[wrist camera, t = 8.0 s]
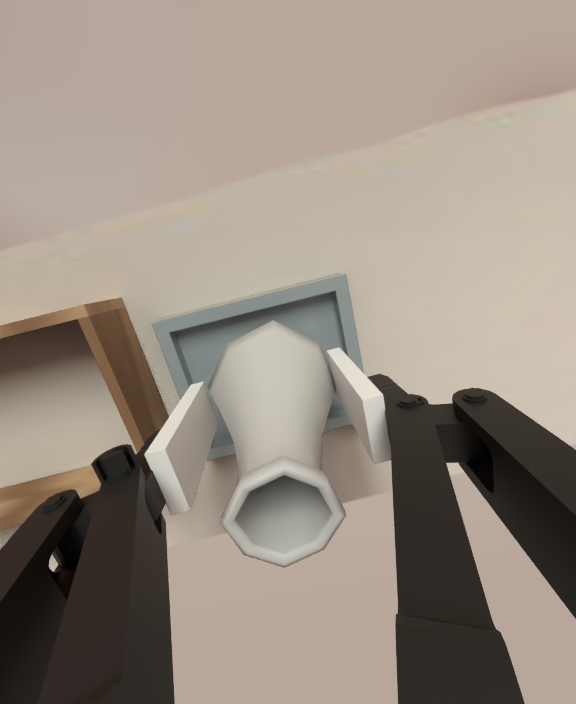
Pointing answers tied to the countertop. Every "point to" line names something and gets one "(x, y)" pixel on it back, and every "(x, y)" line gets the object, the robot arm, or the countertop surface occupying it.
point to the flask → (277, 443)
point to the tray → (247, 315)
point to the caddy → (124, 385)
